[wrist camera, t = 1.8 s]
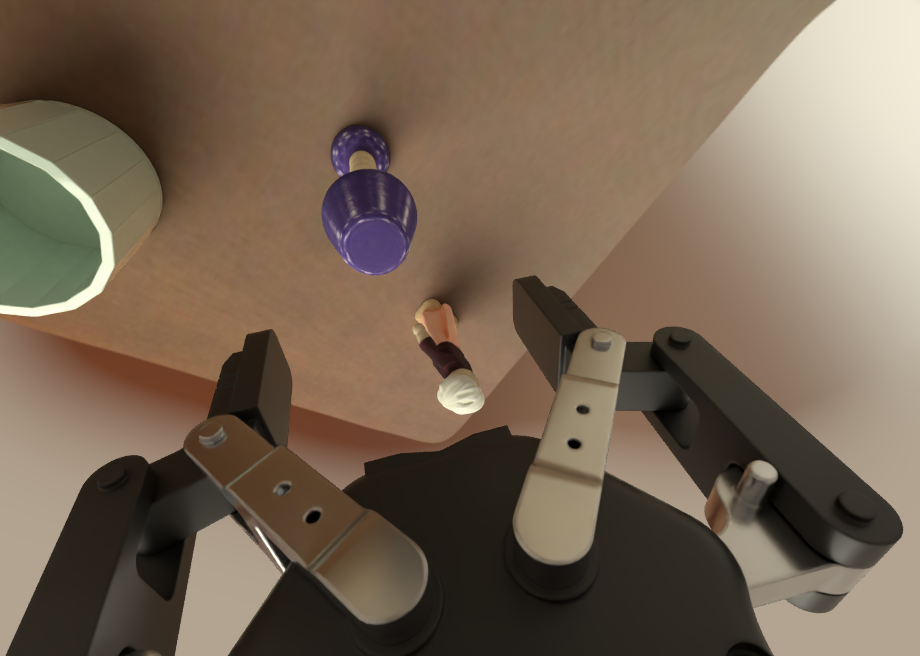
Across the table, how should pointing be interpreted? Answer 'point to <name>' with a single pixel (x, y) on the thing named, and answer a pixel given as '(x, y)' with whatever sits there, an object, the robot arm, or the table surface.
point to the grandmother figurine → (447, 357)
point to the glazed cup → (68, 205)
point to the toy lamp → (367, 204)
